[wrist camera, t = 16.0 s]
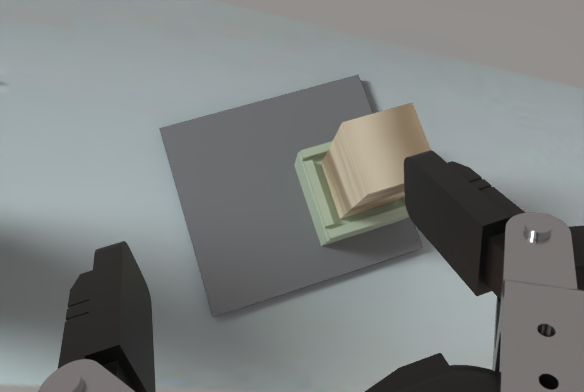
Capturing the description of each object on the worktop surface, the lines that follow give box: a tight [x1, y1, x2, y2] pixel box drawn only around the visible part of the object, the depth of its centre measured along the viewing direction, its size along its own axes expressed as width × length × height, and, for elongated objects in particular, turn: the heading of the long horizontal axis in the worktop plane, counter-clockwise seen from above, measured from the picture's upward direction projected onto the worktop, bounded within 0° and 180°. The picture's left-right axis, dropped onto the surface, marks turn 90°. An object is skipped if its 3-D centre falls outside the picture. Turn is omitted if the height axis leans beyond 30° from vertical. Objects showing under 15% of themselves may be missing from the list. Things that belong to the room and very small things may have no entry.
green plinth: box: [294, 141, 409, 246], centre depth 42 cm, size 8×8×5 cm
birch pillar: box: [321, 103, 430, 219], centre depth 36 cm, size 5×5×10 cm
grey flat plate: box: [159, 75, 423, 317], centre depth 45 cm, size 20×18×1 cm
